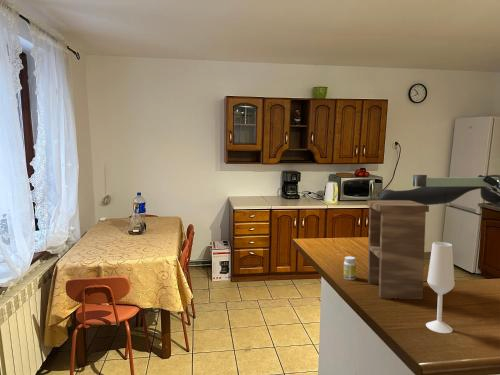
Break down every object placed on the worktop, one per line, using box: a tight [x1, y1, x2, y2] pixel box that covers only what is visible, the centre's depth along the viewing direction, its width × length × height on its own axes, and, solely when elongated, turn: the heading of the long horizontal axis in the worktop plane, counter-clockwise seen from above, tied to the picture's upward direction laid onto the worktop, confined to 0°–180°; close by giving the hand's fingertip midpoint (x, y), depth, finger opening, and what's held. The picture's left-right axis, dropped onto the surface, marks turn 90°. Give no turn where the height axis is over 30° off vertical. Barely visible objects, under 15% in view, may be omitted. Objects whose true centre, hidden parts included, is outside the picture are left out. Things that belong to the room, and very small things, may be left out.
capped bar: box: [411, 174, 500, 188], centre depth 120 cm, size 4×28×4 cm, turn 86°
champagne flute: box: [425, 241, 456, 334], centre depth 96 cm, size 7×7×24 cm
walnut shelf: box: [366, 199, 430, 300], centre depth 124 cm, size 16×16×32 cm
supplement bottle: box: [343, 255, 357, 281], centre depth 137 cm, size 5×5×8 cm
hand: (481, 177), depth 120 cm, fingers closed on capped bar, 3 cm apart
